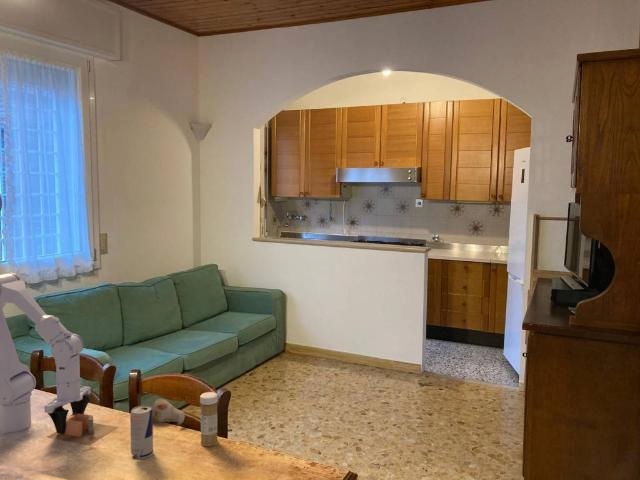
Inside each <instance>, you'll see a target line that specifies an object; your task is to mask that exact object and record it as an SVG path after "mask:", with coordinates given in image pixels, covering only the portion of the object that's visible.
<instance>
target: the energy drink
mask: <svg viewBox="0 0 640 480" xmlns="http://www.w3.org/2000/svg"><path fill="white" fill-rule="evenodd" d="M129 415H130V453H131V454H133V456H131V458H132V459H133V460H138V461H139V460H140V461H141V460H146V459H149V458H150V457H151V456H152V455H153V454H154V422H153V411H152V406H150V405H138V406H135V407H133V408H132V409H131V410H130V413H129Z"/></svg>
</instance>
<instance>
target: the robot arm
mask: <svg viewBox="0 0 640 480" xmlns="http://www.w3.org/2000/svg"><path fill="white" fill-rule="evenodd" d="M7 304H14V305H15V306H16V307H17V308H18V309H19V310H20V311H21V312H23V313H24V314H25V316H27V317H28V319H30V320H31V321H32V322H33V323H34V325H35V326H34V331H35V332H36V333H37V334H38V335H39V336H40V337H41V338H42V339H43V341H45V342H46V344H47V345H49V347H50V348H51V349H50V354H51V356H52V358H53V359H54V365H55V367H56V368H55V369H56V396H55V397H54V398H53V399H51V401H49V402H48V403H46V404H45V405H44V413H46V414H47V415H48V416H49V417H50V419H51V420H52V422H53V426H54V429H55V432H56V431H57V433H60V434H64V433H65V430H66V418H67V417H68V414H69V409H65V408H64V406H66V405H68V404H70V407H71V412H72V414H74V413H80V414H85V411H86V408H87V407H88V404H89V403H90V401H91V398H90V396H89V395H91V393H92V392H91V390H92V389H91V388H92V387H91V386H86V385H85V386H82V387H81V377H80V376H81V373H80V372H81V371H80V368H81V367H80V363H81V362H80V354H81V352H82V351H83V349H84V341H83V339H82V337H81V336H80V335H79V334H76V333H73V332H71V331H69V330H68V329H67V328H66V327H65V326H64V325H63V324H62V322H60V319H59V317H58V316H55V315H53V314H52V315H51V314H50V315H49V314H46V312H45V311H44V310H43V308H42V307H41V306H40V305H39V304H38V303H37V301H36V300H35V299H34V297H33V296H32V295H31V293H30V292H29V291H28V290H27V289H26V283H25V281H24V280H22V279H21V277H20V275H18V274H17V273H14V272H6V273H3V274H0V437H1V436H3V435H6V434H7V433H15V432H19V431H23V430H25V429H27V428H30V426H31V425H32V412H31V411H32V409H31V407H32V406H31V404H32V403H31V402H32V401H31V396H32V392H33V391H34V389H35V388H36V385H37V380H36V377H35V376H34V375H33V374H32V373H31V371H30V368H29V366H28V365H26V364H24V363H21V362H20V359H19V356H18V353H17V350H16V347H15V344H14V341H13V338H12V334H11V332H10V331H11V330H10V329H9V326H8V323H7V320H6V316H5V314H4V310H3V309H4V308H5V306H6V305H7ZM72 414H71V415H72Z"/></svg>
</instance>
